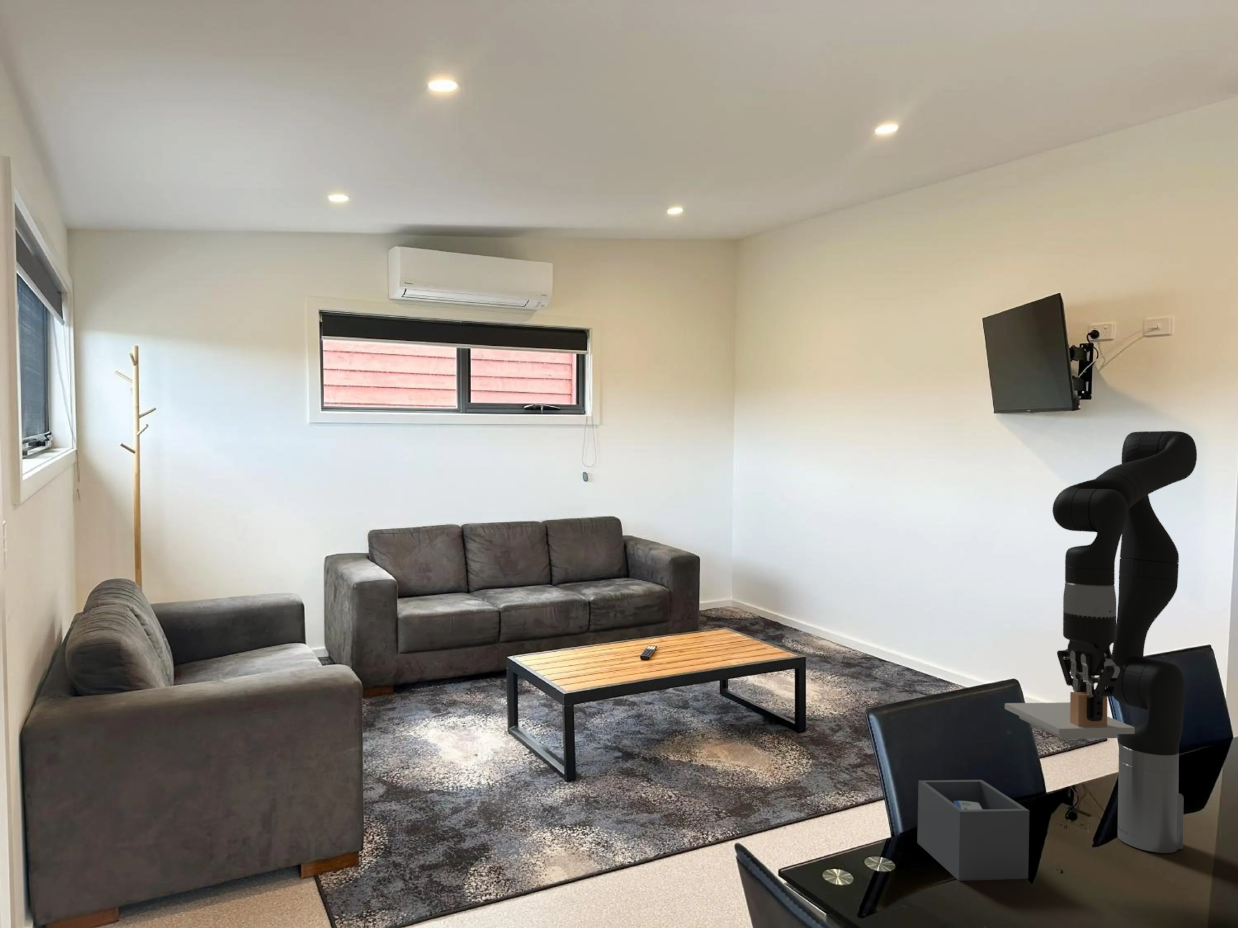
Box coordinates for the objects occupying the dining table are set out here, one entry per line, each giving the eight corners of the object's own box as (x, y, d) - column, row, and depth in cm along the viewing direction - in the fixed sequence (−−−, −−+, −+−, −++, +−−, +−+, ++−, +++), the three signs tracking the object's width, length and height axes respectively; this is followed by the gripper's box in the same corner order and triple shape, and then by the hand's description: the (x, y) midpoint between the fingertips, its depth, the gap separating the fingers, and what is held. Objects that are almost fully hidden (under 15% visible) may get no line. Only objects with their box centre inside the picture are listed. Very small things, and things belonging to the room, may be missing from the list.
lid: (1073, 714, 147) (1073, 674, 147) (1134, 741, 132) (1134, 696, 132) (1004, 715, 145) (1005, 674, 145) (1058, 742, 130) (1059, 696, 131)
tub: (980, 841, 148) (981, 779, 148) (1028, 878, 134) (1029, 810, 134) (917, 842, 146) (918, 780, 146) (958, 880, 132) (960, 811, 133)
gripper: (1142, 618, 127) (1141, 730, 127) (1082, 604, 141) (1082, 706, 140) (1097, 618, 126) (1096, 731, 126) (1041, 604, 140) (1040, 706, 140)
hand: (1088, 717), depth 133 cm, fingers closed on lid
